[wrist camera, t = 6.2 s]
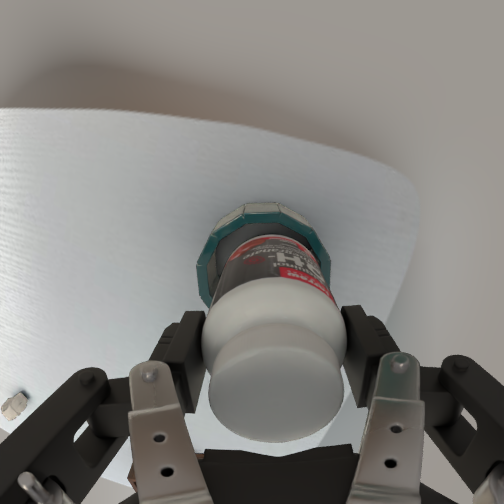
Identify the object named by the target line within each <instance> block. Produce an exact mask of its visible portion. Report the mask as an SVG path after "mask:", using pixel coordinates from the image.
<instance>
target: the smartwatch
mask: <svg viewBox="0 0 504 504" xmlns="http://www.w3.org/2000/svg"><path fill="white" fill-rule="evenodd" d="M27 402H28V400H27V398H26V397H25V396H24V395H23V394H22V393H21V392H20V393H18V394H17V395H16V396H14V397H13V398H8V399H7V400H6V402H5V403H4V404H3V405H2V406H1V411H2V414H3V415H4V416H5V417H6V418H7V419H8V421H11V420H13V419H15V418H16V416H19V415H20V414H21V412H23V411H24V409H25V408H26V406H27Z"/></svg>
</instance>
